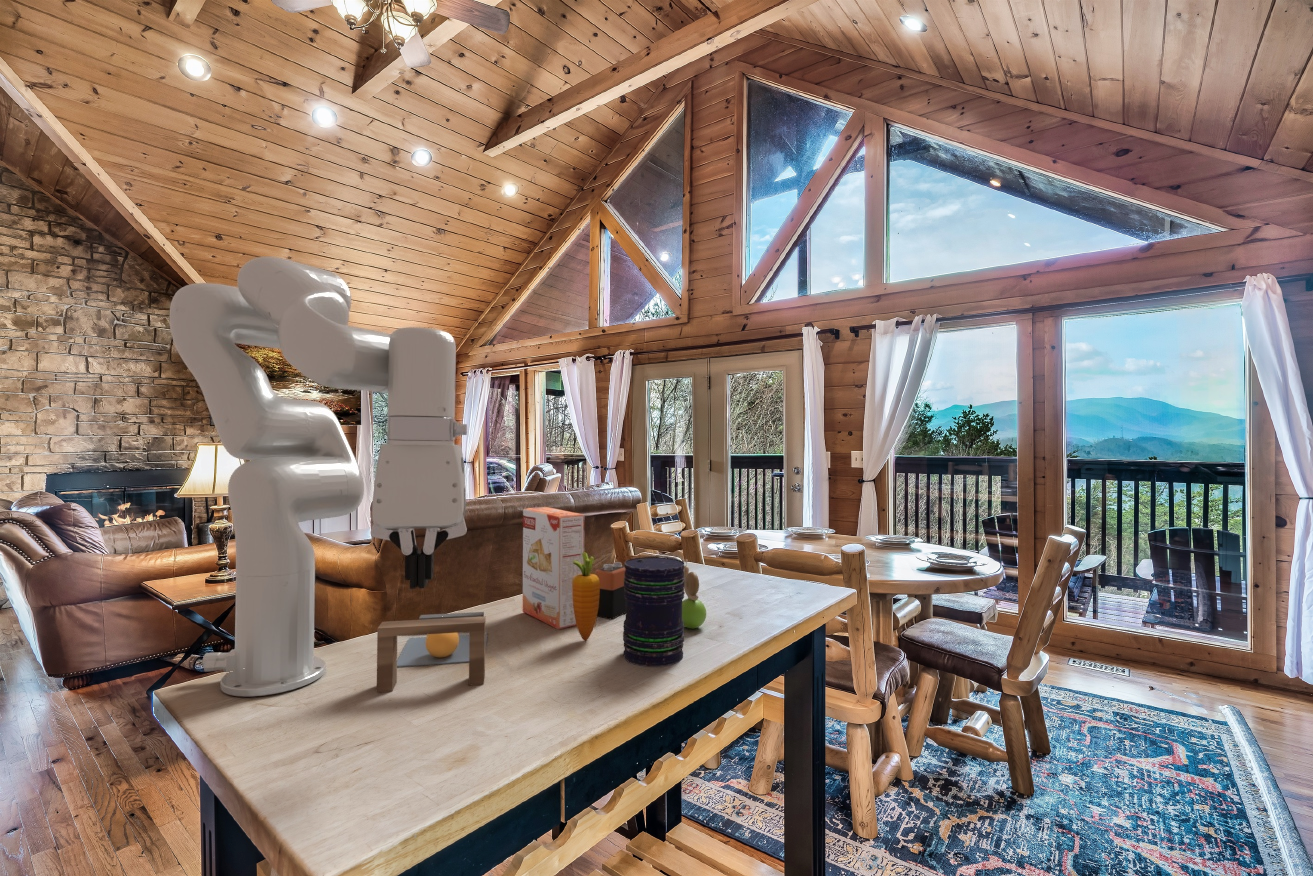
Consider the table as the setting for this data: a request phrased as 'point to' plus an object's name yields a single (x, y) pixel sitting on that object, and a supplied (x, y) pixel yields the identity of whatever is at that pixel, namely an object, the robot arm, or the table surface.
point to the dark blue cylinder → (653, 611)
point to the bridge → (428, 626)
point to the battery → (611, 590)
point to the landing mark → (420, 656)
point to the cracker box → (551, 563)
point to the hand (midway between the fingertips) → (419, 585)
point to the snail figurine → (692, 601)
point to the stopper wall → (451, 615)
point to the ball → (442, 644)
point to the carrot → (585, 597)
